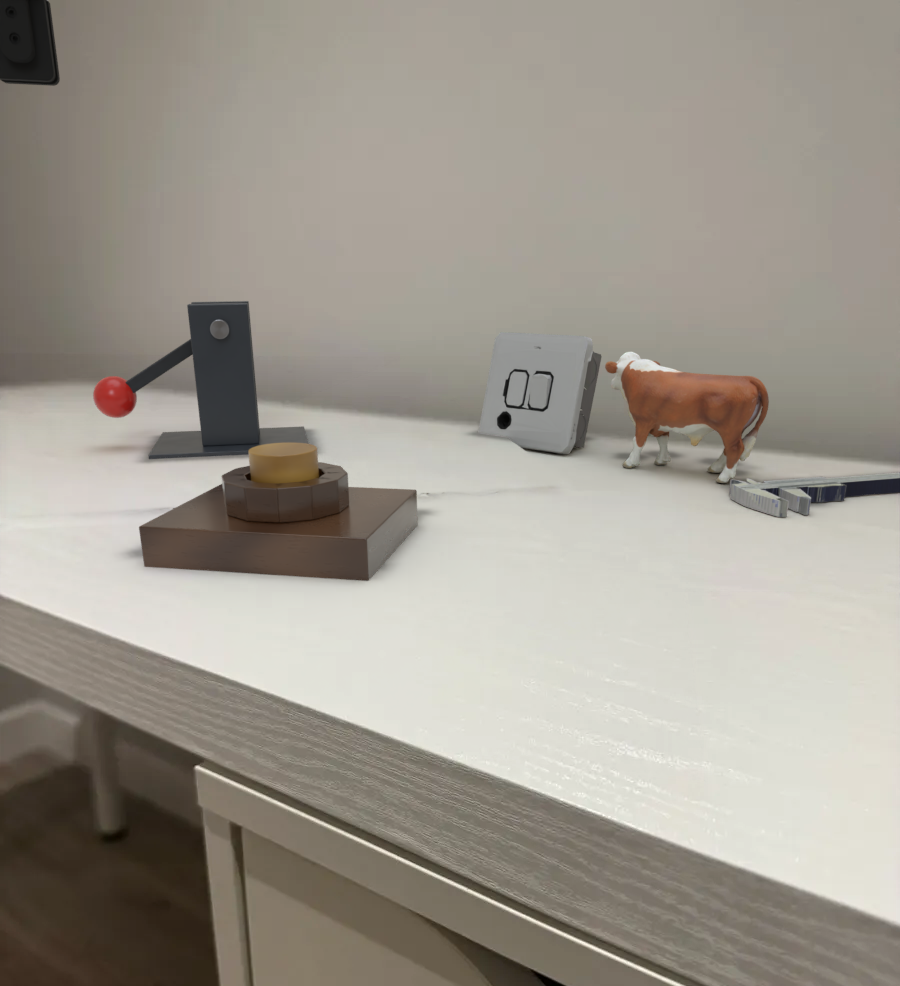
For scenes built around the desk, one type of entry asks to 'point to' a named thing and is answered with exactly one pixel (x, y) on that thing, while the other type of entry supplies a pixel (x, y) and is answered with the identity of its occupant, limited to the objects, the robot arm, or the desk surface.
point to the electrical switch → (540, 390)
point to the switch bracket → (223, 388)
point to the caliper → (808, 491)
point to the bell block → (283, 527)
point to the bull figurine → (689, 409)
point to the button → (283, 463)
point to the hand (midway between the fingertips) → (27, 81)
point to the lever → (134, 384)
